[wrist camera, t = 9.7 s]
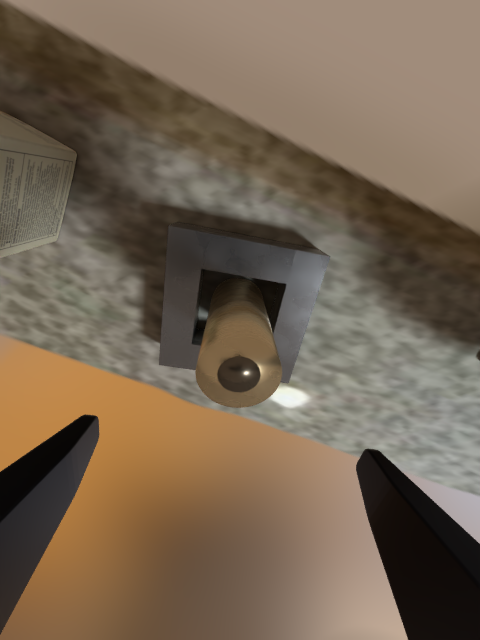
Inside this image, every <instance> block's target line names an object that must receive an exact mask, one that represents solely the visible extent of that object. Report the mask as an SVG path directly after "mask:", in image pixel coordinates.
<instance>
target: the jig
mask: <svg viewBox="0 0 480 640" xmlns="http://www.w3.org/2000/svg"><path fill="white" fill-rule="evenodd" d="M329 259H330V256H329V255H327V254H325V253H324V252H322V251H321V250H319V249H315V248H310V247H305V246H300V245H294V244H289V243H284V242H279V241H274V240H269V239H263V238H258V237H253V236H248V235H243V234H238V233H232V232H227V231H222V230H217V229H212V228H206V227H201V226H196V225H191V224H186V223H181V222H175V223H173V224H171V225H169V226H168V238H167V253H166V268H165V283H164V298H163V312H162V327H161V342H160V357H159V365H164V366H171V367H178V368H185V369H192V370H196V366H197V361H198V357H199V352H200V348H201V344H202V339H203V335H204V330H203V329H197V328H196V327H197V319H198V312H199V304H200V296H201V289H202V281H203V273H204V269H206V270H212V271H217V272H223V273H229V274H234V275H240V276H245V277H251V278H257V279H262V280H268V281H273V282H279V283H278V287H277V291H276V295H275V299H274V302H273V306H272V310H271V314H270V318H269V322H270V325H271V329H272V333H273V336H274V340H275V344H276V347H277V351H278V355H279V359H280V362H281V366H282V378H281V381H280V382H282V383H289V380H290V377H291V374H292V371H293V368H294V365H295V362H296V359H297V356H298V353H299V350H300V347H301V343H302V340H303V337H304V334H305V331H306V328H307V325H308V322H309V319H310V316H311V313H312V310H313V307H314V304H315V301H316V298H317V295H318V292H319V289H320V286H321V283H322V280H323V277H324V274H325V271H326V268H327V265H328V262H329Z"/></svg>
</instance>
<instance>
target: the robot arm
mask: <svg viewBox="0 0 480 640" xmlns="http://www.w3.org/2000/svg"><path fill="white" fill-rule="evenodd" d="M98 438H99V420H98V417H97V416H94V415H83V416H81V417H79V418H78V419H76V420H75V421H73V422H72V423H71V424H69V425H68V426H66V427H65V428H63V429H62V430H61V431H59V432H58V433H56V434H55V435H53V436H52V437H50V438H49V439H47V440H46V441H45V442H43V443H41V444H40V445H39V446H37V447H36V448H34V449H33V450H31V451H30V452H28V453H27V454H26V455H24V456H23V457H21V458H20V459H18V460H17V461H16V462H14V463H12V464H11V465H10V466H8V467H7V468H5V469H4V470H2V471H1V472H0V634H1V632H2V630H3V628H4V627H5V625H6V623H7V621H8V619H9V617H10V615H11V614H12V612H13V610H14V608H15V606H16V604H17V602H18V600H19V599H20V597H21V594H22V593H23V591H24V589H25V587H26V586H27V584H28V582H29V580H30V578H31V576H32V574H33V572H34V571H35V569H36V567H37V565H38V563H39V561H40V559H41V558H42V556H43V554H44V552H45V550H46V548H47V546H48V544H49V543H50V541H51V539H52V537H53V535H54V533H55V531H56V530H57V528H58V526H59V524H60V522H61V520H62V519H63V517H64V515H65V513H66V511H67V509H68V507H69V506H70V504H71V502H72V500H73V498H74V496H75V493H76V492H77V490H78V487H79V485H80V483H81V480H82V478H83V475H84V473H85V471H86V468H87V466H88V463H89V461H90V459H91V456H92V454H93V452H94V449H95V447H96V444H97V442H98ZM356 471H357V475H358V480H359V484H360V488H361V492H362V496H363V500H364V505H365V509H366V513H367V516H368V520H369V523H370V527H371V530H372V532H373V535H374V539H375V542H376V545H377V548H378V550H379V554H380V557H381V559H382V563H383V565H384V569H385V571H386V574H387V577H388V580H389V583H390V586H391V589H392V593H393V596H394V599H395V601H396V604H397V607H398V610H399V613H400V616H401V619H402V622H403V625H404V628H405V631H406V634H407V637H408V640H480V544H479V543H478V542H477V541H476V540H475V539H474V538H473V537H472V536H470V534H468V533H467V532H466V531H465V530H464V529H463V528H462V527H461V526H460V525H459V524H458V523H456V522H455V521H454V520H453V519H452V518H451V517H450V516H449V515H448V514H447V513H446V512H445V511H444V510H442V509H441V508H440V507H439V506H438V505H437V504H436V503H435V502H434V501H433V500H432V499H430V497H428V496H427V495H426V494H425V493H424V492H423V491H422V490H421V489H420V488H419V487H418V486H417V485H415V484H414V483H413V482H412V481H411V480H410V479H409V478H408V477H407V476H406V475H405V474H404V473H402V472H401V471H400V470H399V469H398V468H397V467H396V466H395V465H394V464H393V463H392V462H391V461H390V460H388V459H387V458H386V457H385V456H384V455H383V454H382V453H381V452H380V451H378V450H375V449H365V450H364V451H363V453H362V455H361V457H360V459H359V460H358V462H357V465H356Z"/></svg>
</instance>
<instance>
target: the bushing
mask: <svg viewBox="0 0 480 640" xmlns="http://www.w3.org/2000/svg"><path fill="white" fill-rule="evenodd" d="M281 378H282V366H281V362H280V359H279V355H278V351H277V347H276V344H275V340H274V336H273V333H272V329H271V325H270V322H269V318H268V314H267V311H266V307H265V303H264V299H263V296H262V293H261V291H260V289H259V288H258V287H257V285H255V284H254V283H253V282H251V281H250V280H247V279H244V278H231V279H228V280H225V281H224V282H222V283H221V284H219V285H218V286H217V288H216V289H215V291H214V293H213V295H212V300H211V304H210V308H209V313H208V317H207V322H206V326H205V330H204V335H203V339H202V344H201V348H200V352H199V357H198V361H197V366H196V380H197V383H198V385H199V387H200V389H201V390H202V392H203V393H204V394H205V395H206V396H207V397H208V398H210V399H211V400H212V401H214V402H216V403H218V404H221V405H224V406H228V407H236V408H241V407H249V406H253V405H256V404H259V403H261V402H263V401H264V400H266V399H267V398H269V397H270V396H271V395H272V394H273V393H274V392H275V391H276V389H277V388H278V386H279V384H280V381H281Z"/></svg>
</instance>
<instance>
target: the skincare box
mask: <svg viewBox="0 0 480 640" xmlns="http://www.w3.org/2000/svg"><path fill="white" fill-rule="evenodd" d="M76 158H77V153H76V152H75V151H74V150H72V149H70V148H69V147H67V146H65V145H64V144H62V143H60V142H58V141H57V140H55V139H53V138H51V137H50V136H48V135H46V134H44V133H42V132H40V131H39V130H37V129H35V128H33V127H32V126H30V125H28V124H26V123H24V122H22V121H20V120H18V119H16V118H14V117H12V116H11V115H9V114H7V113H5V112H2V111H0V258H2V257H5V256H8V255H12V254H15V253H18V252H22V251H25V250H28V249H32V248H35V247H38V246H42V245H45V244H48V243H52V242H55V241H57V239H58V235H59V231H60V228H61V224H62V220H63V216H64V212H65V208H66V203H67V199H68V195H69V191H70V187H71V182H72V178H73V173H74V168H75V163H76Z"/></svg>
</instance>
